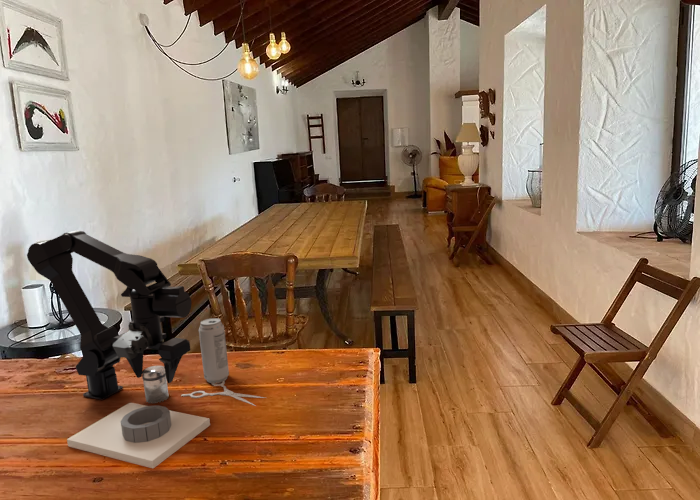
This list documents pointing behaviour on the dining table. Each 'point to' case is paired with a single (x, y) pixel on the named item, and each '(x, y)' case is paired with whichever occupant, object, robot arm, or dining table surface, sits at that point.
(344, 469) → the dining table surface
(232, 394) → the scissors
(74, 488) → the dining table surface
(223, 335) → the energy drink can
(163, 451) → the plate
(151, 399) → the piston
